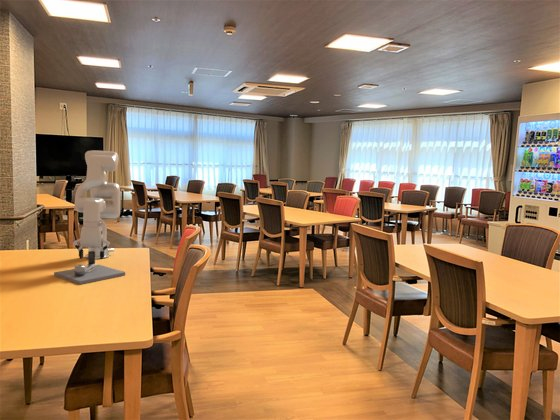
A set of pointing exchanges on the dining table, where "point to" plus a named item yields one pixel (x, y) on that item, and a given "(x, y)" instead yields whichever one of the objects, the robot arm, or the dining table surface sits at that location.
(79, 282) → the board
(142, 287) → the dining table surface
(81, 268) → the swing lever
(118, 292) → the dining table surface
